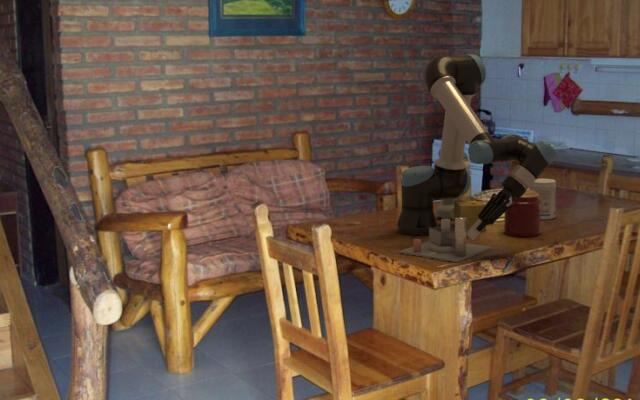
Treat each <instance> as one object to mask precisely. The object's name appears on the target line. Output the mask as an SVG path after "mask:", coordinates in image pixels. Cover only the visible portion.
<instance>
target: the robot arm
mask: <svg viewBox="0 0 640 400" xmlns="http://www.w3.org/2000/svg"><path fill="white" fill-rule="evenodd" d="M423 76H424V77H423V78H424V84H425V86H426V89H427V91H428V93H429V94H430V95H431V96H432V97H433V98H435V99H437V100H438V102H439V103H440V104H441V105H442V107H443V109H444V110H445V114H444V120H443V128H442V136H441V143H440V144H441V145H440V151H439V157H438V158H437V159H436V160H435V161H434V166H430V165H420V166H418V165H417V166H412V167H408V168H406V169H404V170H403V172H401V178H400V179H401V180H400V181H401V182H400V186H401V195H400V196H401V211H400V214H399V218H398V220H397V224H396V232H397V233H399V232H400V233H401V234H404V235H411V236H424V235H426V236H427V235H429V228H430V227H439V224H438V220H437V218H436V215H435V214H436V213H435V211H434V202H436V201H442V200H444V199H455V198H461V197H463V196H464V195H466V194H467V193H468V191H469V190H470V187H471V181H472V178H471V176H470V175H471V174H470V171H469V169H468V168H467V164H466V163H465V162H464V155H465V147H466V142H467V143H468V145H469V146H468V148H467V154H468V155H469V156H468V159H469V160H470V161H471V162H472V163H473V164H475V165H488V164H493V163H495V164H496V163H504V162H514V161H515V162H517V163H518V164H517V165H516V166H515V167H514V169H512V171H511V172H510V173H509V175H508V176H506V178H505V179H504V180H503V181H502V182H501V186H502V187H503V188H502V189H501V190H500V191H498V193H497V194H496V193H495V192H494V193H492V195H491V196H490V198H489V200H488V201H487V202H486V203H485V204H486V205H485V206H484V208H483V209H482V210H481V212H480V213H479V214H478V217H479V218H478V220H477V221H476V223H475V224H474V225H473V226H472V227H471V228H470V229H469V230H468V231H466V237H468V238H469V239H470V240H471V241H475V239H477V237H478V236H479V235H480V233H482V232H483V231H482V230H483V229H484V228H485V227H486V228H487V226H489V225H490V226H492V225H493V224H494V223H495V222H497V220H499V218H501V217H502V215H505V212H506V211H507V210H508V209H509V208H511V207H512V206H513V205H514V204H513V203H512V201H513V199H514V198H515V197H516V198H518V199H519V198H521V196H522V195H523V194H524V193H525V192H526V189H528V190H529V188H531V185H533V184H534V182H535V180H536V179H539V177H540V176H541V175H542V174H544V172H545V171H546V170H547V168H548V167H549V166H551V164H552V163H553V161H554V160H555V159H556V158H557V156H558V154H557V153H558V152H557V150H556V149H555V148H554V146H552V145H551V144H549V143H548V142H547V141H545V140H539V141H538V142H537V143H532V142H530V141H529V140H527V139H526V138H524V137H522V136H520V135H518V134H515V133H512V132H510V133H507V134H506V135H504V136H502V137H501V138H495V139H494V137H493V136H492V135H491V133H490V132H489V131H488V129H487V128H486V127H485V125H484V123H483V122H482V121H481V120H480V118H479V117H478V115H477V114H476V113H475V111H474V110H473V108H472V107H471V102H472V98H473V97H474V96H476V95H477V92H478V91H477V90H478V88H479V87H481V86H482V85H483V84H484V83H485V82H486V77H487V69H486V66H485V63H484V62H483V60H482V58H481V57H480V56H478V55H476V54H474V53H473V54H472V53H459V54H440V55H437V56H435V57H433V58H431V60H430V61H429V62H428V63H427V65H426V67H425V69H424V73H423Z"/></svg>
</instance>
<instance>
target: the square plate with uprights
mask: <svg viewBox="0 0 640 400" xmlns="http://www.w3.org/2000/svg"><path fill="white" fill-rule="evenodd" d="M450 225H451V220H450V219H443V218H441V219H440V226H441V230H443V231H444V230H450ZM491 250H492V246H487V245H486V246H485V245H480V244H473V243H467V242H466V255H463V256H459V255H455V247H453V246H450V245H443V246H440V245H438V244H435V243H433V242H431V241H429V240H428V241H424V242H422V239H420V238H414V239H413V246H409V247H407V248H405V249H401V250H399V251H398V252H399V254H400V253H404V254H403V255H406V254H410V255H409V256H412V255H416V256H415V257H418V256H422V257H421V258H424V257H427V258H426V259H430V258H434V259H433V260H436V259H440V260H439V261H441V260H446V261H445V262H447V261H452V262H451V263H453V262H458V263H460V262H459V261H461V262H463V261H465V260H464V259H466V260H468V259H471V258H473V257H475V256H474V255H476V256H478V255H481V254H483V253H486V252H488V251H491ZM480 253H481V254H480ZM477 254H478V255H477ZM472 256H473V257H472ZM470 257H471V258H470ZM467 258H468V259H467ZM462 260H463V261H462Z"/></svg>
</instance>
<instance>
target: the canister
mask: <svg viewBox="0 0 640 400" xmlns="http://www.w3.org/2000/svg"><path fill="white" fill-rule="evenodd" d="M538 196H539V194H538V193H536V192H535V191H534V190H531V189H529V188H528V189H526V192H525V193H524V194H523V195H522V196H521V198H519V199H518V198H516V197H515V198H514V199H513V201H512V203H513V204H514V205H513V206H512V207H511V208H509V209H508V210H507V211H506V212H505V213H504V217H503V218H504V220H503V221H504V222H503V231H504V233H505V234H506V235H509V236H514V237H534V236H539V235H541V234H540V233H541V230H542V227H541V219H540V217H541V209H540V203H541V200H540V199H538Z"/></svg>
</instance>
